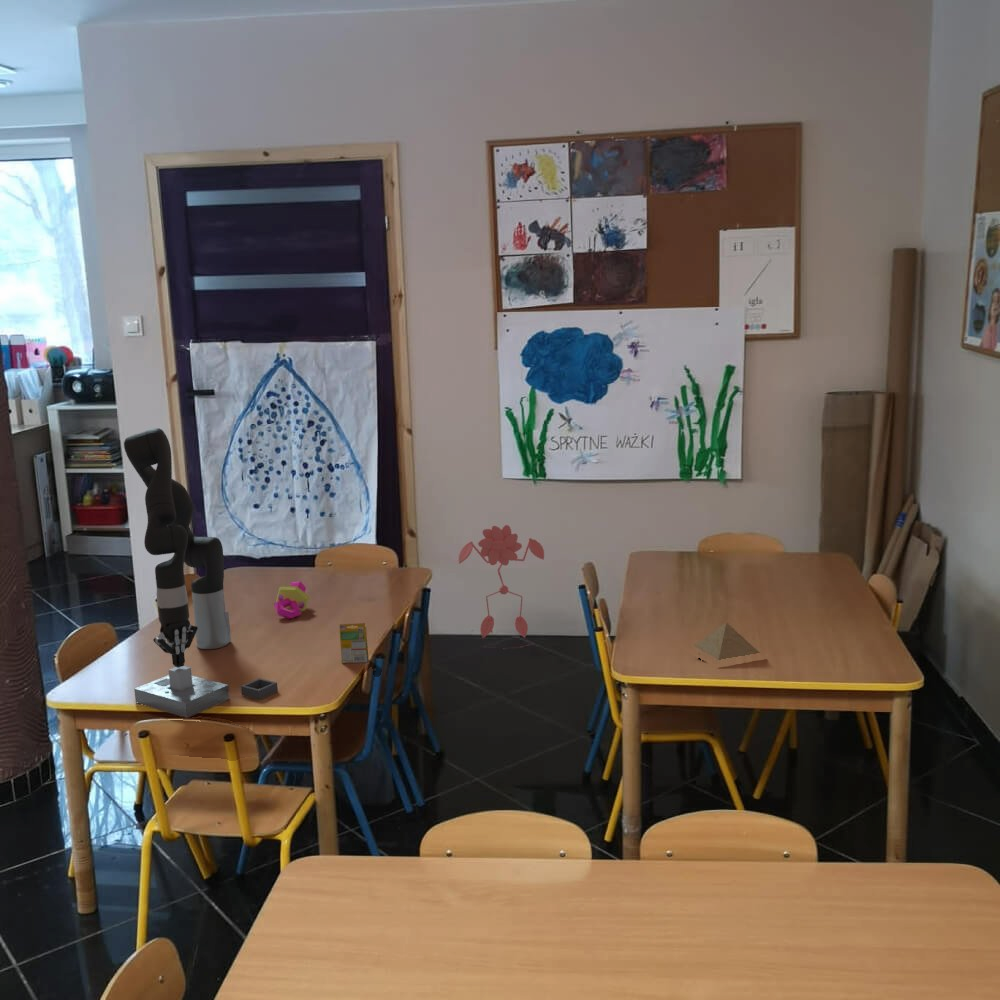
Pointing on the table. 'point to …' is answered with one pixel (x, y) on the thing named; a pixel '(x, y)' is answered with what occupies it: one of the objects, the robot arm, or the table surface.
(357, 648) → the crayon box
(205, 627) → the robot arm
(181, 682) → the plug
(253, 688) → the dark grey square frame
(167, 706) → the port panel
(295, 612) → the toy
